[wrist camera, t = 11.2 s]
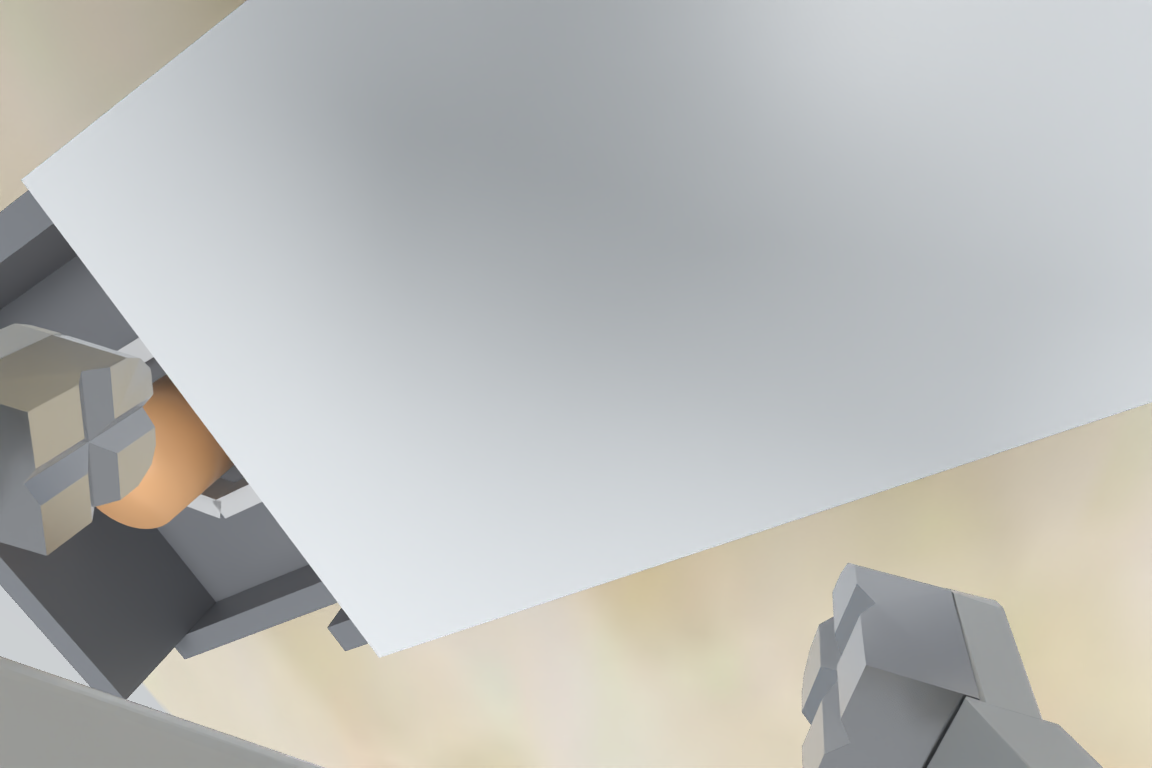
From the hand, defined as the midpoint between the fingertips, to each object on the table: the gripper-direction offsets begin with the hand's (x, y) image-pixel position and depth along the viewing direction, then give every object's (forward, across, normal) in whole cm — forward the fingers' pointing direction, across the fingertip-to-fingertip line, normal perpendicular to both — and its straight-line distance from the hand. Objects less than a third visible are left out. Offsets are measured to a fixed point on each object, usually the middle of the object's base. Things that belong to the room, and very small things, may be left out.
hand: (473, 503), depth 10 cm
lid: (+11, 0, -1) cm, 11 cm away
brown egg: (+16, +15, +12) cm, 25 cm away
